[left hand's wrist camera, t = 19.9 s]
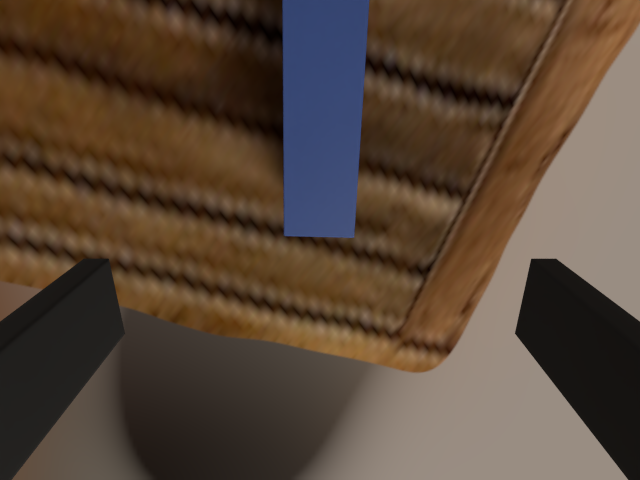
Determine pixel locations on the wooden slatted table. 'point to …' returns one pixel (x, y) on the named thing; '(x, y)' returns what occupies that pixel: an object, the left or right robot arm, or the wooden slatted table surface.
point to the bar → (322, 114)
